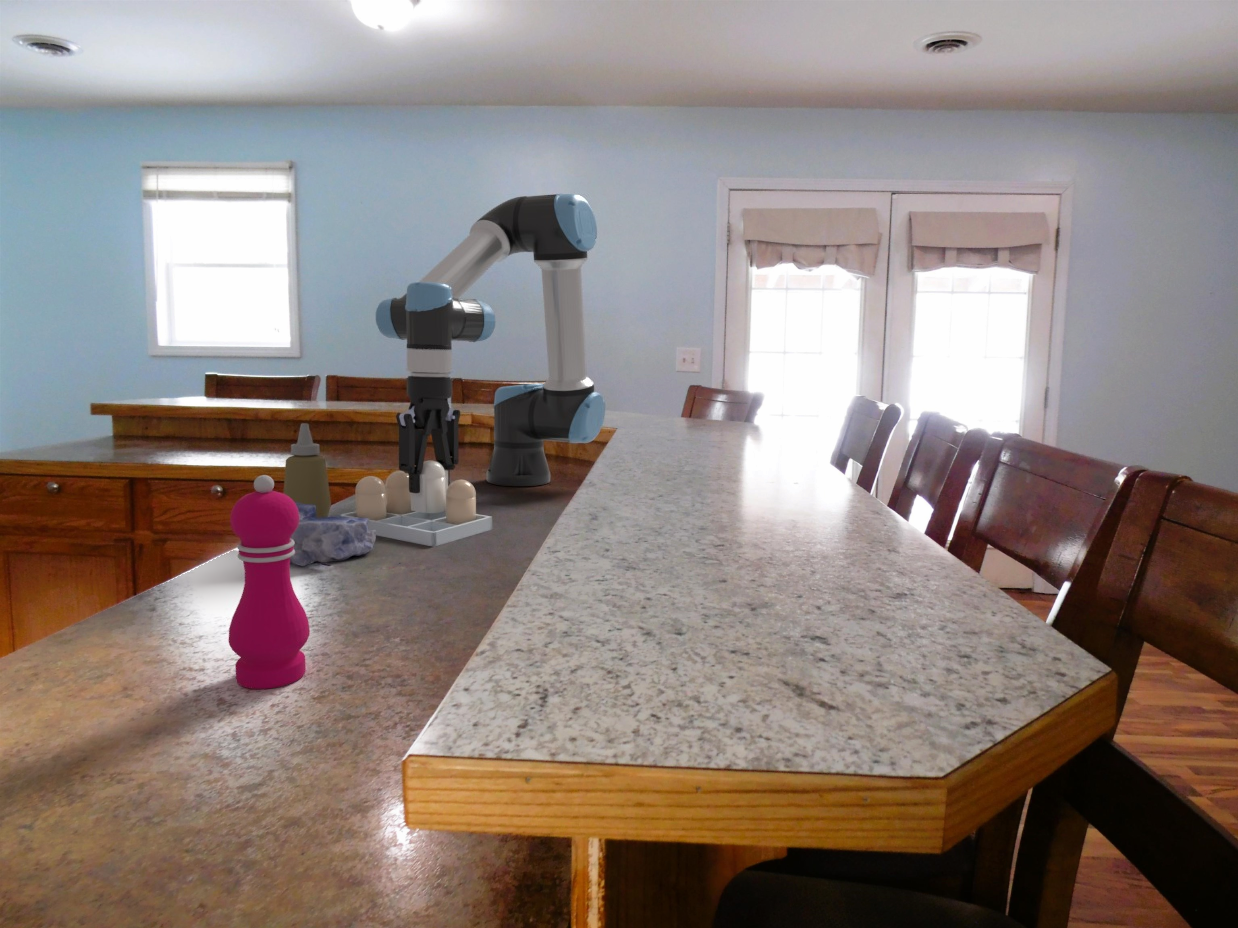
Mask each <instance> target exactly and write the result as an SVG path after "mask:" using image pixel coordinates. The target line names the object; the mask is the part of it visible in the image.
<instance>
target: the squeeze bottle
mask: <svg viewBox="0 0 1238 928" xmlns="http://www.w3.org/2000/svg"><path fill="white" fill-rule="evenodd" d="M290 453H291V456H289V457H287V458H286V459H285V466H284V480H283V481H284V483H283V492H282V493H283V494H285V495H287V496H289V497H290V498H291V499H292V500H293V501H294V502H295V503H300V504H308V505H315V507H316V517H317V518H323V517H329V513H330V510H331V507H332V501H331V494H330V484H329V480H328V479H329V477H328V469H327V463H326V458H324V457H323V456H322V455H319V454H321V453H320V444H319V443H314V441H313V437H312V434H311V430H310V425H309V423H300V427H299V431H298V436H297V442H296V443H293V444H292V443H291V445H290Z"/></svg>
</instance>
